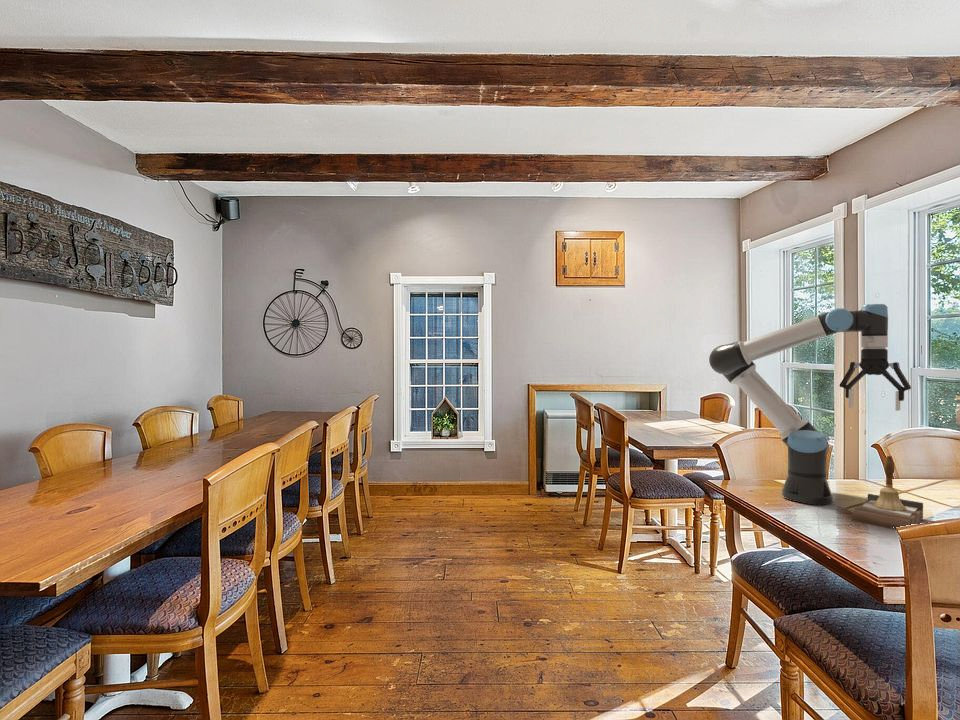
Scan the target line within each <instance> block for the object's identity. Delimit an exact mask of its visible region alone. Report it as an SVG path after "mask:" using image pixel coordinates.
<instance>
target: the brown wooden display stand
mask: <svg viewBox="0 0 960 720" xmlns="http://www.w3.org/2000/svg"><path fill="white" fill-rule="evenodd" d="M879 495H880V494H872V493H868V494H867V500H865V502H863V503H861V504H860V505H858V506H856V507H855V508H854V509H852V510H851V521H854V520H855V522H860V523H864V524H870V525H876V526H878V527H879V526H880V527H884V528H890V529H893V527H894V528H896V527H900V526H906V525H911V524H916V523H918V524H919V523H920V522H921V521H922V520H923V519H924V502H922V501H921V502H920V501H913V500H909V499H902V498H900V501H901V503H902V504H903V505H904V506H905V507H906V510H904V511H893V510H885V509H881V508H877V507H875V506H873V503H874V502H876V501H877V500H878V498H879ZM922 518H923V519H922ZM921 519H922V520H921ZM919 521H920V522H919Z"/></svg>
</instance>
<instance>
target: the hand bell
mask: <svg viewBox="0 0 960 720" xmlns="http://www.w3.org/2000/svg"><path fill="white" fill-rule="evenodd" d="M883 470H884V473H885V487H883V488H880V491H879V494H878V495H879V498H878V500H877V501H876V502H874V503H873V506H875V507H877V508H881V509H885V510H893V511H904V510H906V507H905V506H904V505H903V504H902V503H901V501H900V499H901V498H900V496H899V491H898V490H897V489H895V488H893V475H894V473H895V462H894V460H893V456H892V455H887V456H886V458H885V460H884V463H883Z"/></svg>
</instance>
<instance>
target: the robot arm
mask: <svg viewBox="0 0 960 720" xmlns="http://www.w3.org/2000/svg"><path fill="white" fill-rule="evenodd" d="M888 308H889V307H888V306H887V305H886V304H885V303H871V304H869V303H868V304H863V305H862V306H861V309H860V310H848V309H845V308H841V307H840V308H834V309H831V310H830V311H826V312H825V311H824V312H822V314H820V315H817V316H814V317H811V318H808V319H805V320H803V321H800V322H797V323H794V324H792V325H788V326H785V327H782V328H780V329H777V330H774V331H771V332H768V333H766V334H763V335H760V336H756V337H754V338H751V339H749V340H746V341H741V340H737V341H735V342H732V343H726V344H721V345H718V346H716V347H715V348H714V349H713V350H712V351H711V352H710V355H709V357H708V358H709V359H708V360H709V361H708V362H709V366H710V368H711V369H712V370H713V372H716V373H718V374H720V375H722V376H723V377H724V378H725V379H726V380H727V382H729V383H730V384H732V385H733V384H735V385H737V386H738V387H739V388H740V390H741V391H742V392H743V393H744V394H745V395H746V396H747V397H748V399H750V400H751V402H752V403H753V404H754V405H755V406H756V407H757V408H758V409H759V410H760V411H761V413H762V414H763V415H764V416H765V418H767V419H768V421H770V423H771V424H772V425H773V426H774V427H775V428H776V429H777V430H778V431H779V433H780V440H781V441H782V442H783V443H784V444H785V446H786V447H787V475H786V479H785V481H784V484H783V487H782V489H781V496H782V495H783V496H784V497H786V498H788V499H791V500H795V501H798V502H797V503H799V502H802V503H801V504H805V503H808V504H807V505H816V504H819V505H821V506H822V505H830V504H832V503H833V493H832V491H831V489H830V486H829V483H828V480H827V464H828V463H827V462H828V461H827V457H828V454H829V450H830V445H829V442H828V439H827V436H826V435H825V433H822V432H821V431H819V430H817V429H816V428H815V426H814V425H812V423H810V421H808V420H803V419H802V418H800V417H799V416H798V415H797V414H796V413H795V411H794V410H793V409H792V408H791V407H790V406H789V405H788V404H787V402H785V401H784V400H783V399H782V397H780V395H779V394H778V393H777V392H776V391H775V390H774V389H773V388H772V387H771V386H770V385H769V384H768V382H767V381H766V380H765V379H764V378H763V377H762V376H761V375H760V374H759V372H757V370H756V368H757V367H756V366H757V365H756V363H754V361H756V360H758V359H761V358H762V359H763V358H764V357H765V358H766V357H767V356H771V355H774V354H777V353H780V352H783V351H786V350H789V349H792V348H794V347H798V346H800V345H804V344H806V343H807V344H808V343H809V342H813V341H816V340H818V339H822V338H825V337H827V336H830V335H831V336H832V335H834V334H837V333H855V332H856V333H857V332H858V333H859V332H860V335H861V336H860V340H861V341H860V342H861V343H860V346H861V348H862V349H860V362H856V361H851V362H850V363H849V368H848V370H847V371H846V373H845V375H844V376H843V379H842V380H841V382H840V384H839V387H840V388H842V389H845V398H846V399H848V408H852V409H853V408H854V396H855V395H854V394H855V393H854V391H855V390H854V388H853V387H854V386H855V385H856V384H857V383H858V382H859V381H860V380H861V379H862V378H864V376H866V375H868V376H871V375H874V376H881V375H882V376H883V377H884V378H886V379H887V381H888V382H889V383H891V384H892V386H893V387H894V388H895V389H896V390H897V391H895V411H896V412H899V411H901V402H903V401H904V400H905V391H910V390H911V389H912V385H911V384H910V383H909V382H908V379H907V378H906V376H905V375H904V373H903V371H902V369H901V367H900V362H897V361H895V362H891V363H889V361H888V358H889V355H888V353H889V352H888V351H889V350H888V349H887V348H888V346H889V345H888V344H889V340H888V339H889V338H888V337H889V336H888V335H889V333H888V332H889V312H888V311H889V309H888ZM858 368H861V370H860V372H858V374H856V376H855V377H853V379H852V380H851V381H850V382H849V380H850V379H851V377H852V375H853V374H854V372H855V371H856V369H858ZM888 368H890V369H892V370H893V371H894V372H895V373H894V374H896V376H897V378H898V379H899V381H900V382H898V380H896V379H895V378H894V377H893V376H892V375H891V373H890V372H889V371H888V370H887V369H888ZM852 388H853V389H852ZM788 499H787V500H788ZM791 500H790V501H791Z"/></svg>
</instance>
